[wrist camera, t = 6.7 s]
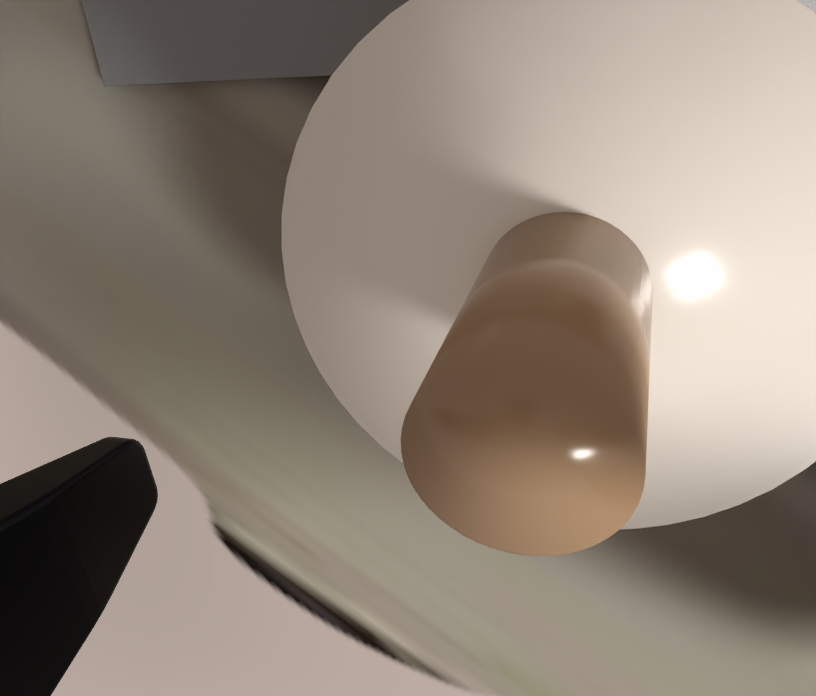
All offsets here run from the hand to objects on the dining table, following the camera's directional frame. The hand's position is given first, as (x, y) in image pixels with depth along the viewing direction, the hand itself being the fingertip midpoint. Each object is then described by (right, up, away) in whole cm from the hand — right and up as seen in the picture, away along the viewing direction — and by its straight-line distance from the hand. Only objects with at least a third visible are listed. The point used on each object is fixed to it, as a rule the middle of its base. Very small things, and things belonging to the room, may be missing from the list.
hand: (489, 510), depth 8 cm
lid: (+2, +3, +6) cm, 7 cm away
